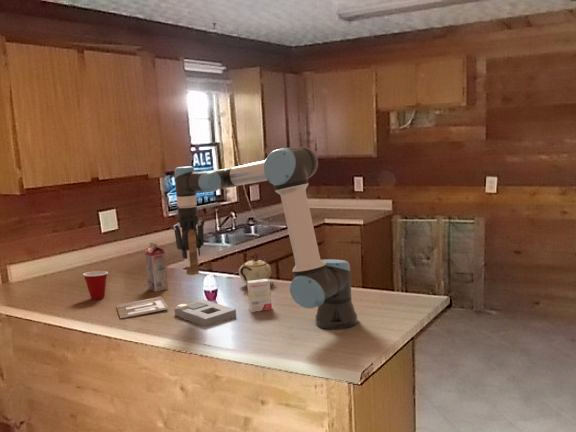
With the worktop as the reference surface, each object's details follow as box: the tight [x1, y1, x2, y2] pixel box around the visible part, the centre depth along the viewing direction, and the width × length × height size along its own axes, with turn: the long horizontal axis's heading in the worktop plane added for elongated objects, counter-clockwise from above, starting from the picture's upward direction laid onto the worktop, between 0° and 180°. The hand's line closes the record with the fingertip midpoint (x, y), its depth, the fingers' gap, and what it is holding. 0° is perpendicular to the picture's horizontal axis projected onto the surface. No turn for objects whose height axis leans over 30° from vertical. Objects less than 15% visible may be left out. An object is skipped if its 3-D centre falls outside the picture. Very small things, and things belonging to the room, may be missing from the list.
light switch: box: [116, 296, 169, 320], centre depth 238 cm, size 18×2×19 cm
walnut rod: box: [184, 229, 200, 276], centre depth 224 cm, size 3×3×18 cm
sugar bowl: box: [238, 252, 272, 286], centre depth 263 cm, size 20×15×15 cm
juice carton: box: [144, 242, 169, 293], centre depth 267 cm, size 7×7×22 cm
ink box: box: [246, 278, 273, 313], centre depth 227 cm, size 9×5×12 cm, turn 103°
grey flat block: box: [174, 299, 237, 328], centre depth 223 cm, size 22×14×4 cm, turn 42°
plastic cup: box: [82, 270, 109, 301], centre depth 259 cm, size 11×11×12 cm
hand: (192, 265), depth 225 cm, fingers closed on walnut rod, 3 cm apart
